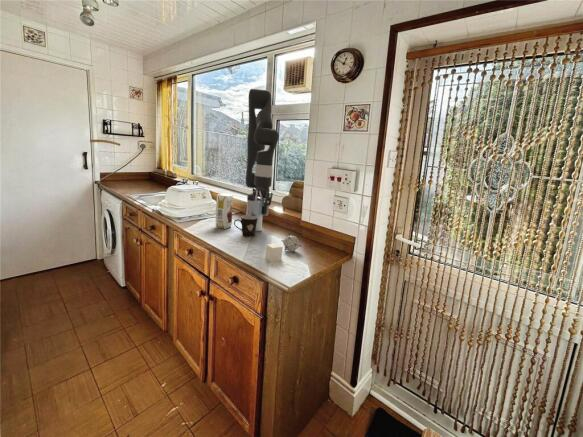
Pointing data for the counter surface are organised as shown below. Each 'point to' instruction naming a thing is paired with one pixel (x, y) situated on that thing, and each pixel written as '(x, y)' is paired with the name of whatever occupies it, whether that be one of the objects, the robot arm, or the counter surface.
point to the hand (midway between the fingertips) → (260, 212)
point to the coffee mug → (248, 225)
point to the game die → (291, 243)
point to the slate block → (259, 208)
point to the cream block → (273, 252)
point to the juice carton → (224, 210)
